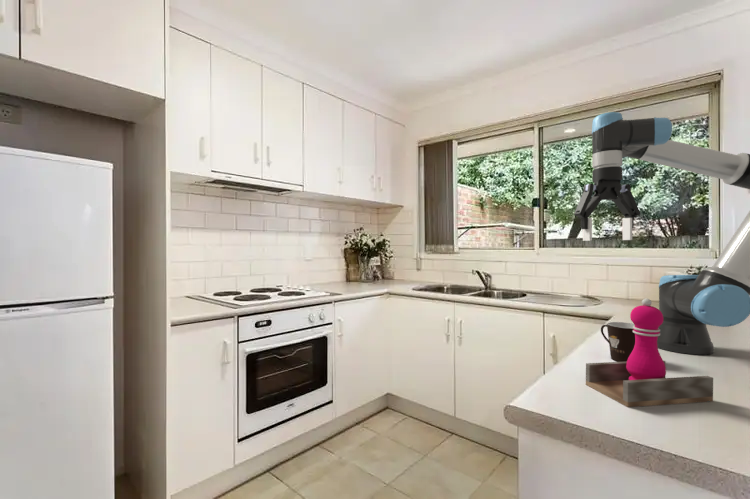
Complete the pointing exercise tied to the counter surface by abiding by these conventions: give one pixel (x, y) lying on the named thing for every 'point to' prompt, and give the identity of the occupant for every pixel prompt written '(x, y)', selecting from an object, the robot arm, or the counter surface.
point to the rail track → (646, 386)
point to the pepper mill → (646, 343)
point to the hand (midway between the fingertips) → (607, 240)
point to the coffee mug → (620, 340)
